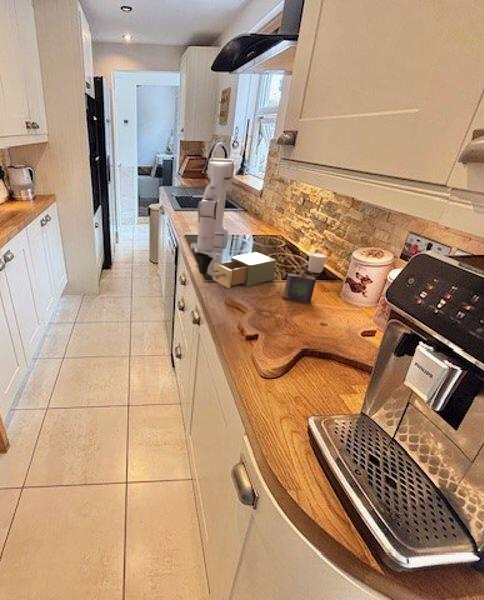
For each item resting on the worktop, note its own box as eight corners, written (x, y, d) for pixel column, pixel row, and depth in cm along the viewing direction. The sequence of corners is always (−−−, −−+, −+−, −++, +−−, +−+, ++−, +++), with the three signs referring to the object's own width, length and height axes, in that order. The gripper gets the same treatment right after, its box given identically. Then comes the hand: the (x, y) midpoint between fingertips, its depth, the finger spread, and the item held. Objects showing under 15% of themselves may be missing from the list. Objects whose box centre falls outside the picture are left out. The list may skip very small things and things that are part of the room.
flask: (282, 298, 116) (288, 270, 111) (283, 295, 118) (289, 267, 113) (310, 303, 112) (317, 275, 108) (310, 300, 115) (317, 272, 110)
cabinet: (247, 286, 125) (250, 265, 121) (229, 276, 133) (231, 256, 129) (272, 280, 131) (276, 259, 127) (253, 271, 139) (256, 252, 135)
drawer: (218, 290, 119) (220, 273, 116) (203, 281, 126) (204, 264, 123) (253, 282, 126) (255, 265, 123) (236, 273, 134) (238, 258, 130)
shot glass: (303, 268, 143) (306, 253, 140) (314, 266, 146) (318, 251, 142) (315, 274, 137) (319, 258, 134) (327, 272, 140) (331, 256, 137)
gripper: (184, 232, 115) (182, 268, 122) (209, 243, 104) (206, 281, 110) (200, 230, 119) (198, 265, 125) (226, 240, 107) (222, 278, 113)
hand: (202, 273), depth 118 cm, fingers closed
